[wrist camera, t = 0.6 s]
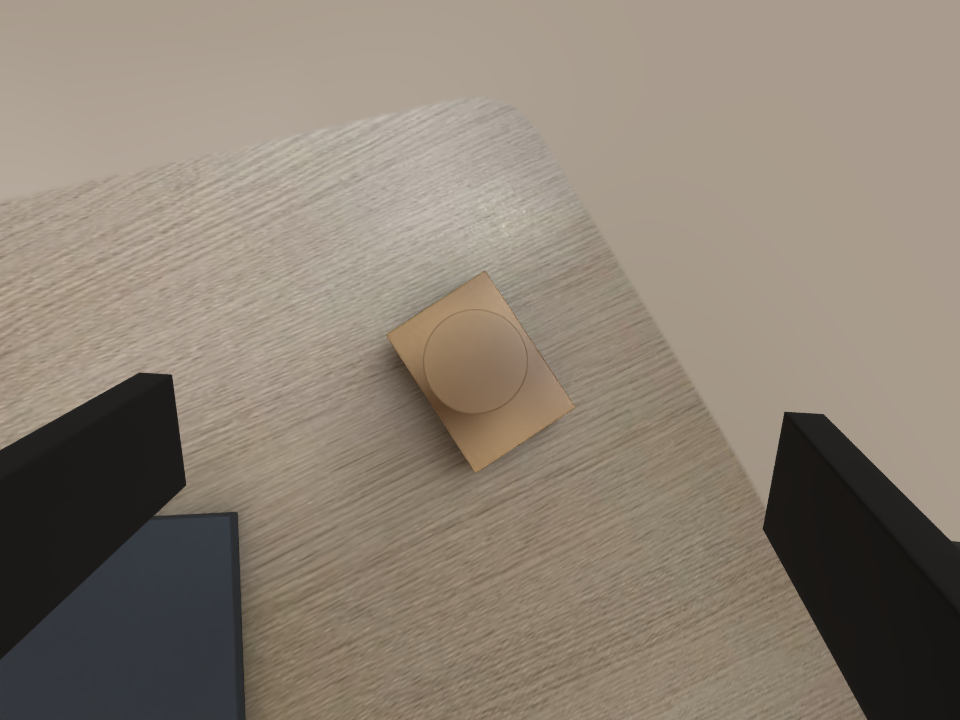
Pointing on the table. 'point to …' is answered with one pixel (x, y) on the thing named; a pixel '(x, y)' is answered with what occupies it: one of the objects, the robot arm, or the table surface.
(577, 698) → the table surface
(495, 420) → the wooden peg stand
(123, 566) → the scrub mat
